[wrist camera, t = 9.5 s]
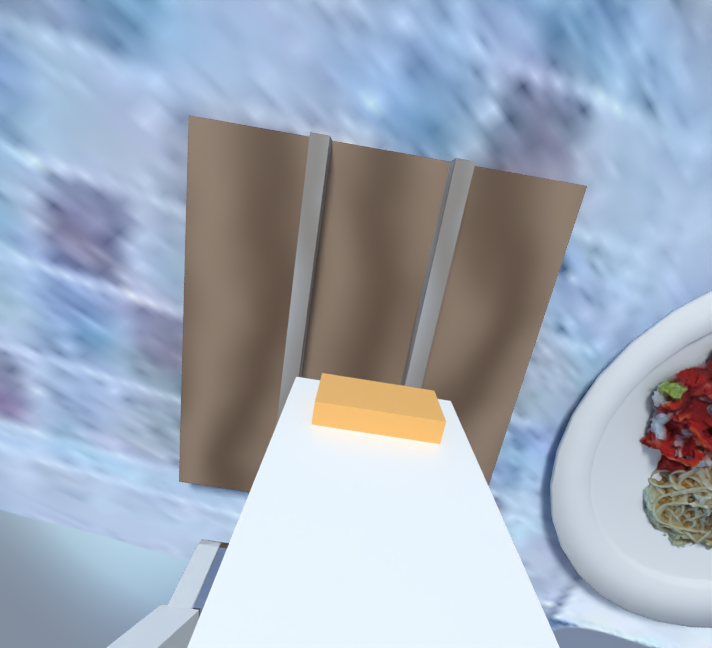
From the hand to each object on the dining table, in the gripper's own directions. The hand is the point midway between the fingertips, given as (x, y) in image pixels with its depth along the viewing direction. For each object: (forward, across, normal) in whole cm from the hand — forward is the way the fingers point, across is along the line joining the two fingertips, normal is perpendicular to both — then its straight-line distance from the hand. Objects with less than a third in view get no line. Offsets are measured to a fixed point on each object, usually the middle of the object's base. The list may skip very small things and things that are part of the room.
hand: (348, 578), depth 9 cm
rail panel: (+17, 0, 0) cm, 17 cm away
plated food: (+17, -30, +4) cm, 35 cm away
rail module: (+3, 0, 0) cm, 3 cm away
